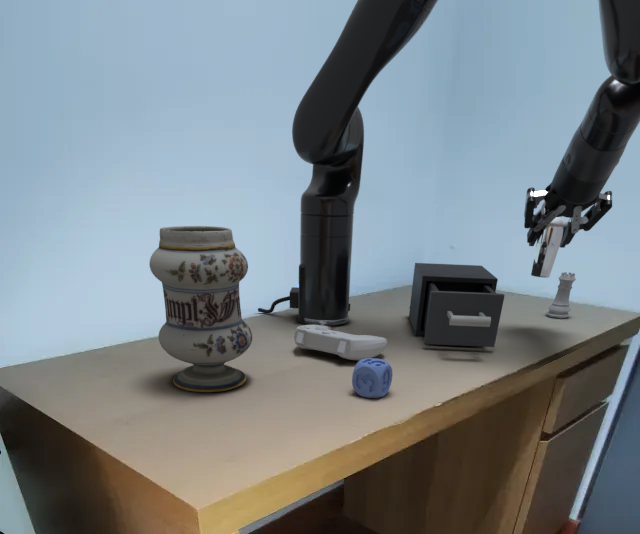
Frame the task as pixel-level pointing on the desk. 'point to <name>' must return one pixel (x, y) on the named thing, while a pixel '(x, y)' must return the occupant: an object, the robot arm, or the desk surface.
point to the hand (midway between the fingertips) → (546, 242)
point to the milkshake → (548, 247)
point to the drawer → (461, 314)
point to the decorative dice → (372, 377)
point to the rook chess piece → (562, 297)
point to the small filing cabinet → (442, 274)
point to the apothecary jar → (202, 305)
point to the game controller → (338, 342)
